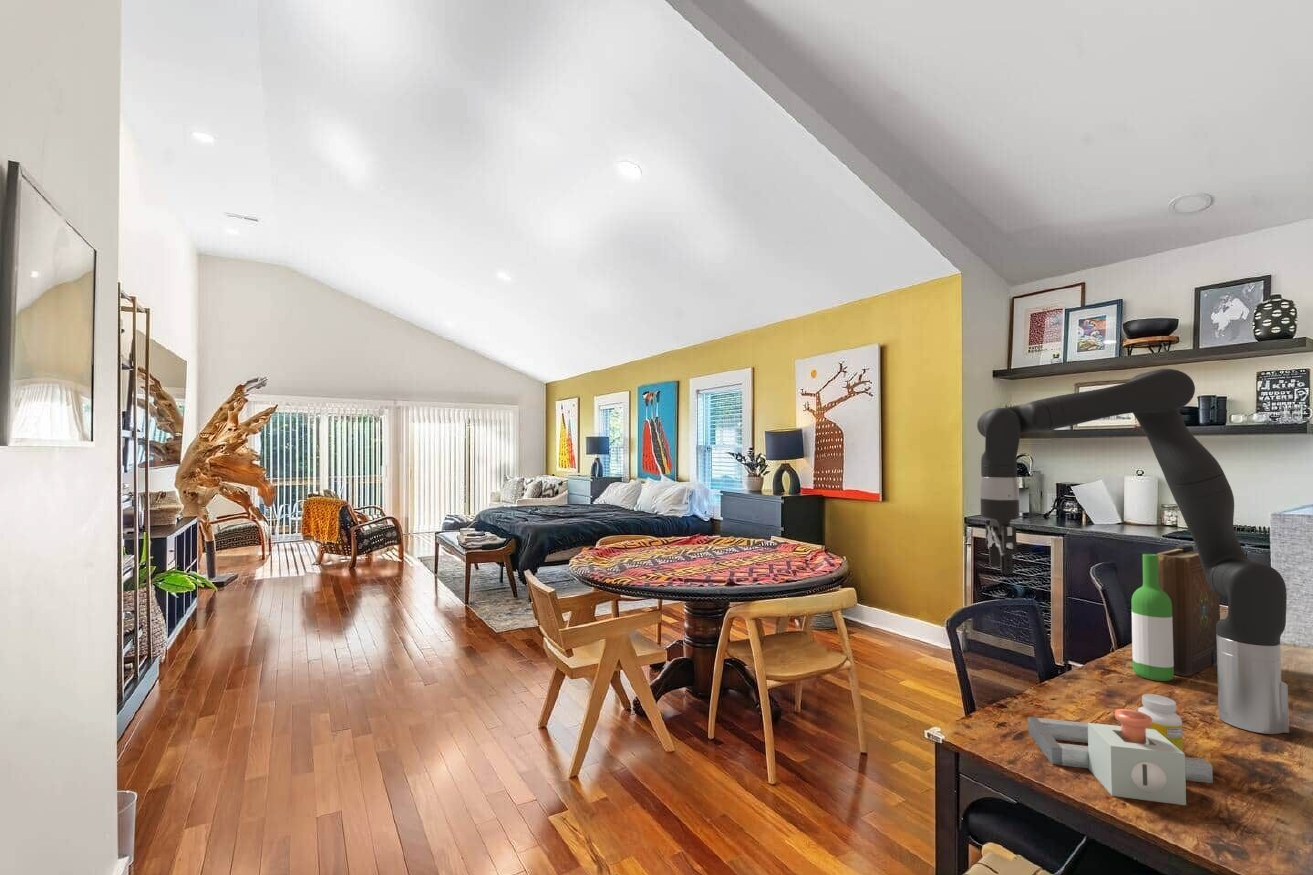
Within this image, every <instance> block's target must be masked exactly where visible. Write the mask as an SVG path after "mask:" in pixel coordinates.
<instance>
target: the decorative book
mask: <svg viewBox="0 0 1313 875" xmlns="http://www.w3.org/2000/svg"><path fill="white" fill-rule="evenodd" d="M1155 555H1157V556H1158V575H1159V587H1160V589H1161V590H1163V591H1164V592H1165V593H1166V594H1167V595H1168V596H1169V598H1170V600H1171V603H1172V623H1173V658H1174V675H1178V676H1185V677H1188V676H1189V677H1190V676H1193V675H1194V674H1197V673H1198V672H1200V671H1203V670H1204V669H1206V668H1208V667H1209V666H1211V667H1215V666H1217V638H1216V624H1217V622H1218V621H1219V620H1221V602H1220V600H1221V598H1220V597H1221V596H1219V595H1218V594H1216V593H1215V592H1214V591H1213V590H1212V589H1211V587H1210V586H1209V584H1208V582H1207V580H1206V577H1205V574H1204V571H1203V567H1202V564H1201V561H1200V557H1199V554H1198V551H1197V552H1195V544H1191V543H1185V544H1180V545H1176V548H1175V549H1171V550H1165V551H1161V552H1157V553H1156V554H1155Z"/></svg>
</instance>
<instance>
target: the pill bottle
mask: <svg viewBox="0 0 1313 875" xmlns="http://www.w3.org/2000/svg"><path fill="white" fill-rule="evenodd" d="M1141 703H1142V705H1143V706H1141V707H1139V708H1138V709H1137V711H1139V712H1142V713H1144V714H1147V715H1148V716H1150V717H1151V718H1152V726H1151V727H1149V728H1146V729H1154V730H1156V731H1158V732H1159V733H1160V734H1161V735H1162V736H1164V737H1165V738H1166V739H1167V740H1169V741H1170V742H1171V743H1172V744H1173V745H1175V746H1176V747H1177V748H1178V749H1179V750H1181V751H1182V752H1183V753H1184V750H1183V749H1184V748H1183V740H1184V739H1183V720H1182V718H1181V717H1180V716H1179V715H1178V714H1177V713H1176V712H1177V702H1176V701H1175V700H1174V699H1171V698H1170V697H1167V696H1163V695H1159V694H1151V693H1146V694H1145V693H1144V694H1142V696H1141Z"/></svg>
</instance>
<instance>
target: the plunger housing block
mask: <svg viewBox="0 0 1313 875" xmlns="http://www.w3.org/2000/svg"><path fill="white" fill-rule="evenodd" d="M1087 723H1088V743H1087V744H1088V745H1087V746H1088V759H1089V769H1088V770H1089V771H1090V772H1091V773H1092V775H1094V777H1095V778H1096V779H1097V780H1098V782H1099V783H1100V785H1102V786H1103V788H1104V789H1105V790H1106V791H1107V792H1108V793H1109V794H1110V796H1111V797H1118V798H1126V799H1134V800H1142V801H1148V802H1156V803H1162V804H1163V803H1164V804H1172V805H1180V806H1187V790H1186V787H1187V786H1186V785H1187V784H1186V781H1187V780H1185V757H1186V755H1185V752H1184V751H1183V752H1182V751H1181V750H1179V749H1178V748H1177V747H1176V746H1175V745H1173V744H1172V743H1171V742H1170V741H1169V740H1167V739H1166V738H1165V737H1164V736H1162V735H1161V734H1160V733H1159V732H1158V731H1156V730H1154V729H1146V743H1145V744H1138V743H1132V742H1129V741H1126V740H1124V739H1123V738H1122V737H1121V725H1114V724H1105V723H1104V724H1103V723H1093V722H1087Z"/></svg>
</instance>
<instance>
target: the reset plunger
mask: <svg viewBox="0 0 1313 875" xmlns="http://www.w3.org/2000/svg"><path fill="white" fill-rule="evenodd" d="M1114 718H1115V720H1116V721H1118V722H1120V726H1121V737H1122V738H1123V739H1124V740H1126V741H1129V742H1132V743H1138V744H1145V743H1146V728H1149V727H1151V726H1152V718H1151V717H1150V716H1148V715H1147V714H1144V713H1142V712H1139V711H1138V710H1135V709H1129V708H1117V709H1114Z"/></svg>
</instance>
